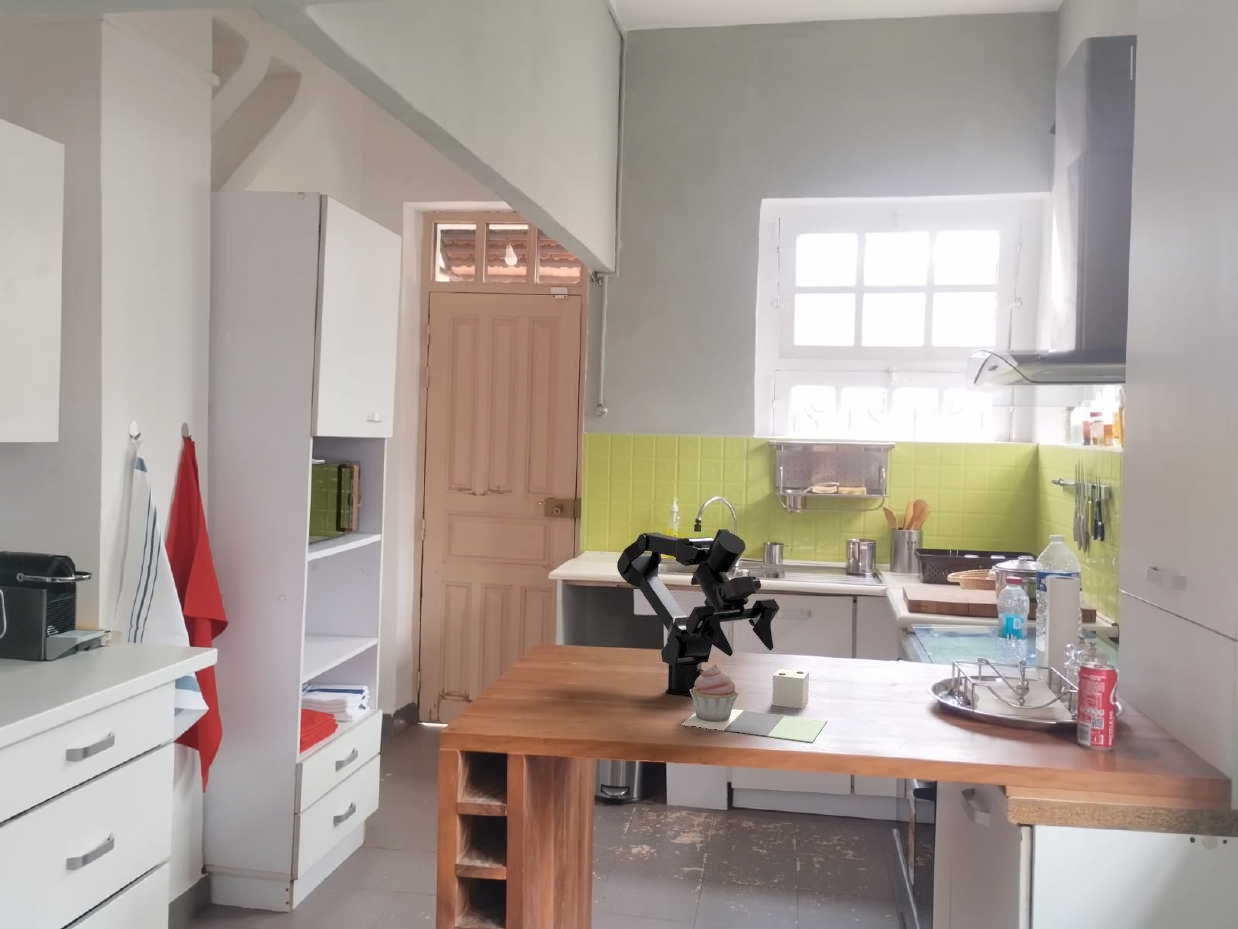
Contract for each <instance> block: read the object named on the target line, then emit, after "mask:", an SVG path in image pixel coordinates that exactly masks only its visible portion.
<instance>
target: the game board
mask: <svg viewBox="0 0 1238 929" xmlns="http://www.w3.org/2000/svg"><path fill="white" fill-rule="evenodd" d="M827 722H828V721H827V720H822V719H815V718H814V719H813V718H805V717H799V716H790V715H782V714H773V713H767V712H761V711H760V712H758V711H752V710H751V711H750V710H743V709H736V708H735V709H733V708H732V711H731V715H730V717H729V719H727V720H723V721H707V720H703V719H700V718H698V717H697V715H696V712H695V713H693V714H692V715H691V716H689V717H688V718H686V720H685V721H684V722H682V723H681V726H684V725H685V726H686V727H691V726H696V727H695V728H699V727H701V728H700V729H706V728H707V730H714V729H717V730H716V731H721V730H722V732H723V731H724V732H731V733H736V732H739V733H738V734H743V733H746V734H745V735H750V734H751V736H752V735H753V736H758V737H766V738H775V739H782V740H786V741H787V740H789V741H797V742H802V743H804V742H805V743H811V744H813V743H814V742H813V741H815V740H816V738H817V737H818V735H819V734H820V733H821V731H822V730H823V728H824V727H825V725H826V724H827ZM685 726H684V727H685ZM821 729H822V730H821ZM819 732H820V733H819Z"/></svg>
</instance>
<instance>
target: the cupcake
mask: <svg viewBox="0 0 1238 929" xmlns="http://www.w3.org/2000/svg"><path fill="white" fill-rule="evenodd" d="M694 686H695V687H694V688H693V689H691V690H690V693H691V696H690V697H691V698H692V702H693V706H694V712H695V713H696V715H697V717H698V718H700V719H703V720H707V721H723V720H727V719H729V717H730V715H731V711H732V709H733V707H734V704H735V702H736V700H737V698H738V696H739V694H740V693H739V692H737V689H736V684H735V683H734V681H732V680H731V677H730V675H728V673H726V672H725V671H723V670H721V669H720V668H719V667H718V665H717V664H713V665H711V666H708V667H707V668H705V669H704V672H703V674H702V675H700V676H699V677H698V678H697V679H696V681H695V684H694Z"/></svg>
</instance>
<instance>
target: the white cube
mask: <svg viewBox="0 0 1238 929" xmlns="http://www.w3.org/2000/svg"><path fill="white" fill-rule="evenodd" d="M809 685H810V671H803V670H792V669H783V668H779V669H778V670H776V672H775V673H774V674H772V696H771V697H772V700H771V701H772V702H771V704H772V706H775V707H776V706H777V707H783V708H793V709H799V708H803V709H804V708H805V707H806V705H807V704H808V702H809V691H810V690H809V687H810V686H809ZM806 703H807V704H806Z"/></svg>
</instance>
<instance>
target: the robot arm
mask: <svg viewBox="0 0 1238 929" xmlns="http://www.w3.org/2000/svg"><path fill="white" fill-rule="evenodd" d="M715 534H716V535H715V537H714V538H712V537H709V536H708V537H707V536H706V537H684V538H683V537H678V536H672V535H669V534H663V533H660V532H643V533H642V534H641V533H640V534H639V536H637V539H636V541H634V542H632V543H631V544H630V545H628V546H626V548H625V549H623V551H622V553H621V555H620V556H619V558H618V561H617V564H616V568H617V571H618V573H619V575H620V577H621V578H622V579H623V580H624V581H625V582H626V583H628V584H629V585H631V586H632V587H633V586H634V587H635V588H638V589H639V590H640V592H641V593H642V595H643V596H644V597H645V599H646V600H647V602H648V604H649V605H650V607H651V608H652V610H653V611H654V612H655V614H656V616H657V617H658V619H659V620H660V621H661V623H662V625H663V626H664V628H665V629H666V630H667V636H666V644H665V645H664V647H663V648H662V650H660V651H661V652H660V653H661V654H660V655H661V659H662V660H661V661H662V663H665V664H668V673H667V675H668V679H667V682H668V684H667V688H666V689H665V691H664V692H665V693H666V694H673V695H682V696H688V697H692V696H691V693H690V690H691V689H693V688H694V687H695V686H694V684H695V681H696V679H697V678H698V677H699V676H700V675H702V674H703V672H704V671H705V669H703V668H702V665H703V664H702V663H708V662H709V658H710V655H711V652H712V647H713V646H714V648H715V647H716V649H718V650H720V651H721V652H722V653H724V654H725V655H726V656H728V657H732V655H733V653H734V652H733V649H732V646H731V644H730V643H729V640H728V638H727V637H726V635H725V632H724V631H723V629H722V627H721V623H724V622H725V623H731V622H739V621H740V622H741V621H748V623H749V624H750V626H752V632H754V634H755V635H756V636H757V638H758V639H759V640H760V641H761V643H762V644H763V645H764V646H765V648H767V650H769V651H772V650H773V649H774V641H773V635H772V634H773V633H772V624H771V623H772V621H773V619H775V616H776V615H777V613H778V611H779V610H780V609H781V607H780V606H779V604H778V602H777V601H776V599H775V598H763V599H756V601H755V602H754V603H753V606H752V607H751V608H745V605H747V604H748V603H749V600H750V599H749V597H750V596H752V595H754V594H756V593H757V591H759V590H760V589H762V584H761V583H762V582H761V580H760V578H759V577H758V575H757V574H756V573H749V574H748V573H747V576H739V577H738V576H737V577H733V578H731V579H730V578H729V577H728V575H727V573H730V572H731V571H733V570H734V568H735V567H736V565H737V564H738V562H739V560H740V558H741V557H742V555H743V554H744V552H745V551H746V543H745V541H744V540H743V539H741V537H739V536H738V535H736V534H734V533H732V532H730V531H729V529H728V528H721V529H720V528H719V529H718V530H717V532H716V533H715ZM662 555H664V556H668V557H673V558H674V559H675V561H676V562H677V563H678V564H680V565H682V566H684V567H695V566H697V567H696V570H695V571H693V573H692V578H691V581H690V585H691V586H699V588H700V589H701V591H702V592H703V594H704V596H705V599H704V602H703V603H704V605H701V606H694V607H693V609H692V610H691V613H690V615H688V616H687V615H686V613H685V612H684V610H682V608H681V607H680V605H679V604H678V602H677V601H676V600H675V598H674V596H673V595H672V594H671V592H670V591H669V590H668V588H667V587H666V585H665V584H664V582H663V581H662V580H661V578H660V577H659V568H660V563H661V562H662V560H663V559H662Z"/></svg>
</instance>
